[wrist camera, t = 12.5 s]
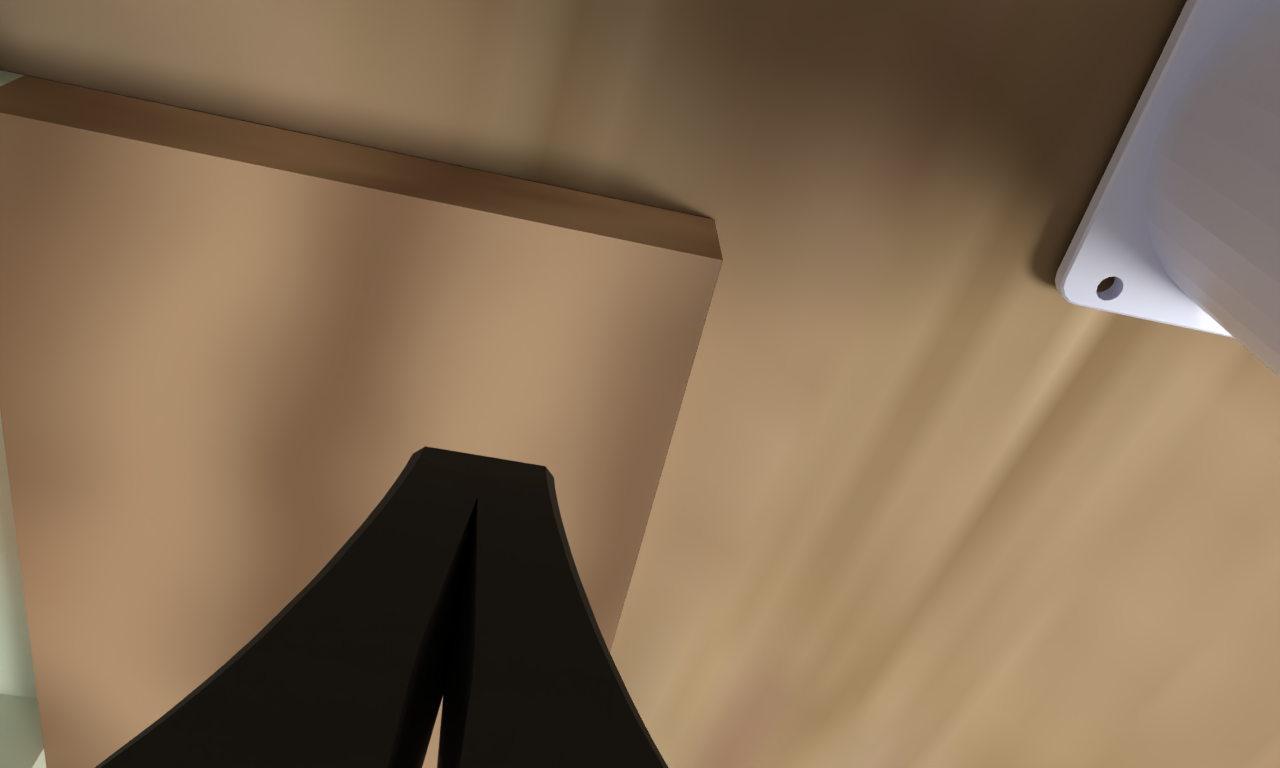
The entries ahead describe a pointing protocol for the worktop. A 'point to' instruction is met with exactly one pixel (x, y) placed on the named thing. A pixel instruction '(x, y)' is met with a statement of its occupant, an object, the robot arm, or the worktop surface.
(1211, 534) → the worktop surface
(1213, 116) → the robot arm
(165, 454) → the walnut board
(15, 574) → the tray
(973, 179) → the worktop surface
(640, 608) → the worktop surface
